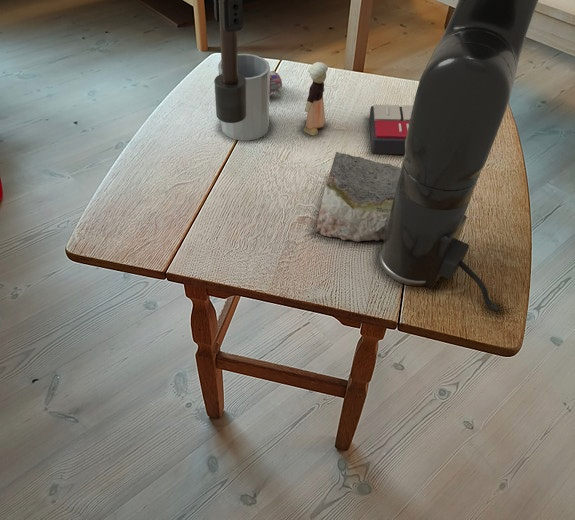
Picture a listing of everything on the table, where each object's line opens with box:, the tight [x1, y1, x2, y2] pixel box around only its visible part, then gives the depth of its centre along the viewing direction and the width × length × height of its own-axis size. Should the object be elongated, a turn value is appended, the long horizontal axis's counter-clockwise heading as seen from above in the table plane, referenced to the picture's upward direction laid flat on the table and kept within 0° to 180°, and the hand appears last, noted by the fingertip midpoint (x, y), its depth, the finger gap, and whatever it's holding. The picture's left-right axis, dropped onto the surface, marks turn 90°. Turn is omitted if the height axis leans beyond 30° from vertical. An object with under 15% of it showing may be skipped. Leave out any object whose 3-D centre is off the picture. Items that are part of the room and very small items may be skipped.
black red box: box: [368, 104, 413, 155], centre depth 99 cm, size 11×4×15 cm
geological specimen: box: [315, 151, 401, 242], centre depth 85 cm, size 11×6×15 cm
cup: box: [217, 53, 271, 142], centre depth 96 cm, size 9×9×12 cm
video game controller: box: [269, 70, 283, 96], centre depth 106 cm, size 10×5×7 cm, turn 104°
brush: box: [213, 0, 246, 123], centre depth 67 cm, size 4×4×17 cm
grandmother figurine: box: [303, 61, 329, 136], centre depth 97 cm, size 8×4×13 cm, turn 168°
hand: (228, 24), depth 64 cm, fingers closed on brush, 2 cm apart
